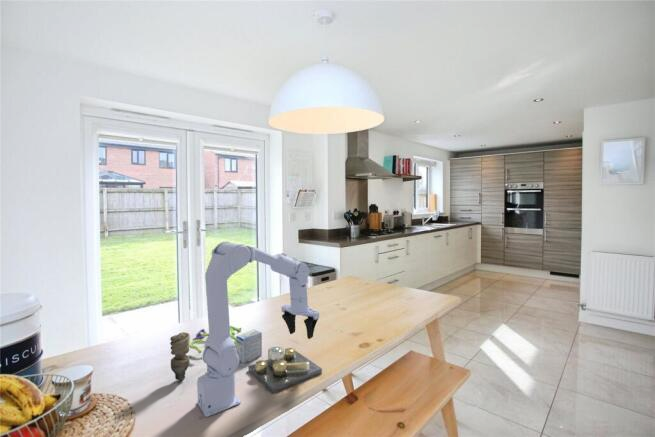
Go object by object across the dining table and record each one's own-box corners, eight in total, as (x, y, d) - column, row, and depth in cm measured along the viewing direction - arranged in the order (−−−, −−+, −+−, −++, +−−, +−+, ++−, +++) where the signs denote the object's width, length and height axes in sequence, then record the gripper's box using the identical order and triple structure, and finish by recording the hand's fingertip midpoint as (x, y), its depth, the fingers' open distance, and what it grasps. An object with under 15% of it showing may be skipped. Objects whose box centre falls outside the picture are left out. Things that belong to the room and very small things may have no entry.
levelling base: (272, 393, 94) (272, 371, 93) (248, 370, 106) (248, 350, 106) (321, 373, 105) (321, 353, 104) (295, 354, 117) (295, 336, 117)
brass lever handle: (272, 376, 99) (272, 367, 99) (273, 368, 104) (272, 360, 104) (309, 373, 101) (309, 364, 101) (308, 366, 105) (308, 357, 105)
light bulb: (193, 376, 103) (192, 329, 102) (186, 386, 97) (185, 337, 96) (175, 376, 103) (174, 330, 102) (167, 386, 97) (166, 337, 96)
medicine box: (254, 351, 119) (254, 328, 119) (262, 355, 117) (262, 331, 116) (236, 360, 113) (235, 335, 113) (244, 364, 110) (243, 339, 110)
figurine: (187, 364, 111) (186, 348, 111) (196, 333, 137) (195, 320, 136) (242, 357, 116) (242, 341, 116) (241, 328, 142) (241, 316, 142)
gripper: (323, 295, 108) (325, 334, 110) (289, 290, 116) (292, 326, 118) (311, 303, 102) (313, 344, 104) (276, 296, 110) (279, 334, 112)
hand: (301, 335), depth 110 cm, fingers open, 7 cm apart
